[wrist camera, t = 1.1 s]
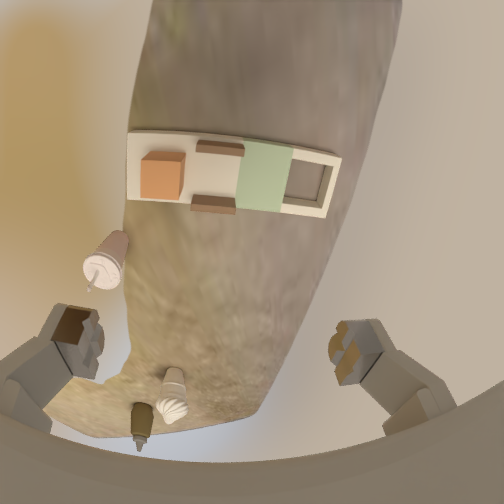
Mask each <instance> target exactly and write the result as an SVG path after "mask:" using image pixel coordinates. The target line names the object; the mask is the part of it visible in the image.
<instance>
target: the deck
mask: <svg viewBox="0 0 504 504" xmlns="http://www.w3.org/2000/svg"><path fill="white" fill-rule="evenodd" d="M150 151H163V152H181V153H186V159H185V171H184V185H183V189H182V192H181V195H180V197H179V200H166V199H150V198H140V174H141V159H142V158H143V157H145V156H146V155H147V154H148V153H149V152H150ZM292 159H298V160H303V161H309V162H314V163H319V164H324V165H326V166H325V170H324V174H323V178H322V181H321V185H320V189H319V193H318V196H317V200H316V201H311V200H304V199H297V198H290V197H284V192H285V187H286V183H287V178H288V174H289V169H290V165H291V160H292ZM341 160H342V158H341V157H339V156H338V155H336V154H334V153H330V152H326V151H321V150H316V149H311V148H306V147H301V146H296V145H291V144H285V143H279V142H273V141H267V140H260V139H253V138H245V137H237V136H229V135H219V134H209V133H197V132H183V131H162V130H133V131H131V132H129V133H128V138H127V199H128V200H146V201H161V202H176V203H189V204H191V209H190V211H200V212H211V213H222V214H233V215H235V212H236V208H244V209H254V210H263V211H272V212H280V213H289V214H297V215H305V216H312V217H320V218H325V217H326V214H327V211H328V207H329V204H330V200H331V197H332V193H333V190H334V186H335V183H336V179H337V175H338V172H339V168H340V164H341Z"/></svg>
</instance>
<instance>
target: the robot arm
mask: <svg viewBox="0 0 504 504" xmlns="http://www.w3.org/2000/svg"><path fill="white" fill-rule="evenodd" d="M98 320H99V315H98V312H97V310H95V309H90V308H83V307H78V306H73V305H66V304H61V303H57V304H56V305H55V306H54V307H53V309H52V311H51V313H50V314H49V316H48V318H47V320H46V322H45V324H44V326H43V328H42V329H41V331H40V334H39V335H38V337H33V338H32V339H30V340H29V341H27V342H26V343H24V344H23V345H21V347H19V348H17V349H16V350H14V351H13V352H12V353H10V354H9V355H7V356H6V357H5V358H3V359H2V360H1V361H0V504H504V380H503V381H501V382H500V383H498V384H496V385H495V386H493V387H492V388H490V389H488V390H487V391H485V392H483V393H482V394H480V395H478V396H477V397H475V398H473V399H471V400H469V401H468V402H466V403H464V404H462V405H460V406H458V407H457V405H456V403H455V401H454V399H453V397H452V395H451V393H450V391H449V390H448V388H447V386H446V384H445V382H444V381H443V380H442V379H440V378H439V377H438V376H436V375H435V374H433V373H432V372H431V371H429V370H428V369H426V368H425V367H423V366H422V365H421V364H419V363H418V362H416V361H415V360H414V359H412V358H411V357H409V356H408V355H406V354H405V353H404V352H402V351H400V350H396V348H395V346H394V344H393V342H392V341H391V339H390V337H389V336H388V334H387V332H386V330H385V329H384V327H383V325H382V323H381V322H380V320H378V319H365V320H364V319H363V320H347V321H341V322H339V323H338V325H337V327H336V330H337V333H336V334H335V335H334V336H332V337H331V339H330V342H329V346H328V353H329V358H330V361H331V362H332V363H333V364H334V365H336V369H335V371H334V372H335V374H336V377H337V380H338V383H339V385H340V386H344V385H352V384H359V383H360V385H361V386H362V387H363V388H364V389H365V390H366V391H367V392H368V393H369V394H370V395H371V396H372V397H373V398H374V399H375V400H376V401H377V402H378V403H379V404H380V405H381V406H382V407H383V408H384V409H385V410H386V411H387V412H388V413H389V414H390V415H391V417H390V418H389V419H388V420H386V421H385V422H384V423H383V425H382V427H383V429H384V432H385V435H386V437H382V438H379V439H376V440H373V441H370V442H366V443H362V444H358V445H355V446H351V447H347V448H342V449H338V450H334V451H329V452H324V453H319V454H313V455H307V456H301V457H294V458H286V459H278V460H267V461H255V462H234V463H233V462H231V463H208V462H205V463H204V462H184V461H172V460H161V459H154V458H146V457H139V456H133V455H127V454H122V453H117V452H112V451H107V450H103V449H99V448H94V447H91V446H87V445H83V444H80V443H76V442H73V441H70V440H67V439H63V438H60V437H57V436H54V435H52V434H50V431H51V427H52V420H51V418H50V417H49V416H48V415H47V414H46V413H45V412H44V411H43V410H42V409H43V408H44V407H45V406H46V405H47V404H48V403H49V402H50V401H51V399H52V398H53V397H54V396H55V395H56V394H57V393H58V392H59V391H60V390H61V389H62V388H63V387H64V386H65V385H66V384H67V383H68V382H69V381H70V380H71V379H72V378H73V376H77V377H82V378H88V379H95V376H96V372H97V369H98V365H99V363H98V361H97V359H96V358H97V357H98V356H100V355H101V354H102V352H103V348H104V340H105V339H104V331H103V328H102V327H101V325H100V324H98Z"/></svg>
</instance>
